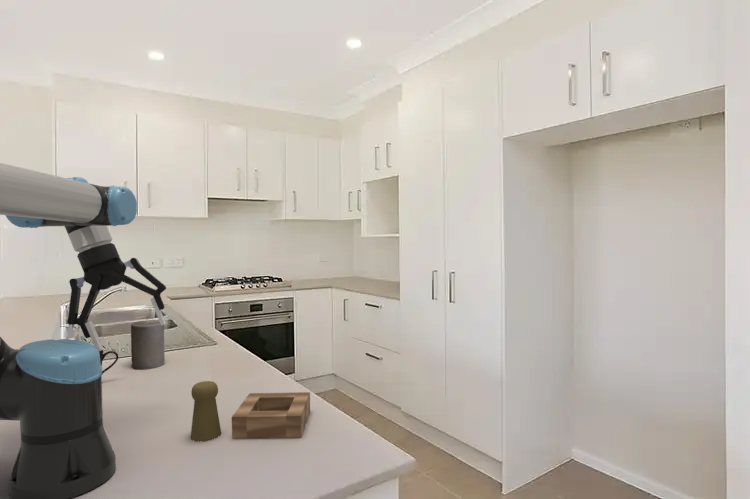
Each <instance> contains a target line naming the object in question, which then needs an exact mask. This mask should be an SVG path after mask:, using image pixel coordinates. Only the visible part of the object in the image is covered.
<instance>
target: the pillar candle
mask: <svg viewBox="0 0 750 499" xmlns="http://www.w3.org/2000/svg"><path fill="white" fill-rule="evenodd" d="M130 338H131V340H130V344H131V345H130V350H131V351H130V352H131V354H130V356H131V357H130V358H131V368H132V369H134V370H152V369H156V368H160V367H162V366H164V365H165V360H166V359H165V354H166V353H165V325H162V326H161V324H160V321H159V319H158V320H154V319H152V320H149V319H148V318H146V319H145V320H141V321H140V320H139V321H136V322H132V323H131V324H130Z"/></svg>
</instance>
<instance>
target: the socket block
mask: <svg viewBox="0 0 750 499" xmlns="http://www.w3.org/2000/svg"><path fill="white" fill-rule="evenodd" d="M310 413H311V392H309V391H308V392H307V391H306V392H303V391H302V392H249V393H248V394H247V396H246V397H245V399H244V400H243V401H242V403H241V404H240V405H239V407H238V408H237V409H236V410H235V412H234V413H233V414H232V416H231V438H232V440H238V439H239V440H240V439H245V440H246V439H294V438H295V439H296V438H297V439H298V438H299V439H300V438H302V436H303V433H304V431H305V427H306V424H307V422H308V418H309V416H310Z"/></svg>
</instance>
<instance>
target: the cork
mask: <svg viewBox="0 0 750 499" xmlns="http://www.w3.org/2000/svg"><path fill="white" fill-rule="evenodd" d="M190 392H191V393H190V394H191V397H192V400H194V401H193V402H194V403H193V410H192V411H193V412H192V421H191V429H190V439H191V440H192V441H193V440H194V442H198V441H199V443H200V441H202V442H209V441H208V440H210V441H212V439H213V440H215V439H217V438H219V437H220V436H221V435H222V428H221V423H220V417H219V411H218V404H217V396H218V393H219V387H218V384H217V383H216V382H214V381H211V380H205V381H199V382H197V383H195V384H194V385H193V386H192V388H191V391H190ZM218 436H219V437H218ZM214 438H215V439H214Z"/></svg>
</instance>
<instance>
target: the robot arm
mask: <svg viewBox="0 0 750 499" xmlns="http://www.w3.org/2000/svg"><path fill="white" fill-rule="evenodd" d="M137 212H138V202H137V198H136V196H135V193H134V192H133V191H132V190H131V189H130V188H129V187H126V186H117V185H116V186H115V185H111V186H103V185H97V184H93V183H89V182H88V180H87V179H85V178H84V177H81V176H74V177H62V176H59V175H58V176H57V175H53V174H51V173H49V174H48V173H45V172H41V171H38V170H33V169H29V168H24V167H19V166H14V165H10V164H6V163H3V162H0V215H1V216H5V217H6V219H7V220H8V221H9V223H11V224H12V225H13V226H15V227H18V228H22V229H23V228H25V229H26V228H27V229H28V228H29V229H30V228H31V229H38V228H45V227H64V228H65V230H66V233H67V235H68V238H69V240H70V241H69V242H70V244H72V248H73V251H75V252H77V256H76V258H77V259H78V261H79V262H78V263H79V264H80V267H81V268H82V272H83V276H81V277H77V278H71V279H69V281H68V282H69V285H70V289H71V291H70V299H69V307H68V315H67V324H68V325H69V326H72V325H74V326H75V325H78V326H79V327H80V328H81V332H82V333H83V336H84V337H85V339H89V338H90V339H91V342H92V343H91V342H89V341H84V340H79V339H71V338H70V339H68V338H61V339H44V340H43V339H42V340H37V341H32V342H27V343H25V344H24V345H22V346H21V347H20V348H18V349H16V348H12V347H11V346H10V345H8V343H7V342H6V341H5V340H4V339H3V338H2V337H1V336H0V421H19V423H20V424H19V425H20V426H19V428H20V447H19V449H18V453H17V456H16V459H15V462H14V465H13V467H12V471H11V474H10V476H9V477H10V478H9V481H8V489H9V494H8V495H9V497H10V499H72V498H74V497H77V496H80V495H83V494H85V493H87V492H89V491H92V490H94V489H95V488H97V487H100V486H101V485H102V484H104V483H105V482H107V481H108V480H109V479H110V478H111V477H112V476H113V475H114V474H115V472H116V469H117V461H116V460H117V458H116V453H115V451H114V450H113V447H112V445H111V442H110V439H109V437H108V435H107V433H106V431H105V428H104V419H103V417H104V416H103V411H104V410H103V390H102V388H103V386H102V385H103V381H102V378H103V377H102V376H103V374H102V371H103V367H102V366H103V365H102V366H101V362H100V353H99V350H101V349H102V348H103V349H104V347H103V343H102V342H101V338H100V337H99V335H98V333H97V330H96V328H95V325H94V323H93V321H92V320H90V321H88V319H89V317H90V315H91V312H92V311H93V310H92V309H93V308H94V305H95V302H96V300H97V297H98V295H99V294H100V291H105V290H108V289H110V288H111V287H116V286H119V285H121V284H122V283H125V284H127V285H129V286H132V287H134V288H136V289H137V290H140V291H142V292H144V293H146V294H148V295H149V296H150V295H151V296H152V298H150V302H151V304H152V306H153V310H154V312H155V313H156V316H157V319H158V320H159V321H160V324H161V326H162V325H164V326H165V325H166V324H167V322H166V320H165V318H164V314H163V313H162V310H164V309H165V304H164V302H163V298H162V296H161V294H162V293H163V292H165V290H166V289H167V286H166V285H165V284H164V283H162V282H161V281H160V280H159V279H158V278H156V277H155V276H154V275H153V274H152V273H150V272H149V271H148V270H147V269H146V268H144V266H142V265H141V263H140V261H139V259H138V258H136V257H131V258H130V259H129V260H127V261H125V262H123V260H122V259H121V257H120V254H119V251H118V250H117V248H116V244H114V243H113V242H112V241H113V237H112V236H111V233H110V230H109V228H108V226H113V227H117V226H123V225H129V224H130V223H132V222H133V221H134V220H135V218H136V215H137ZM128 267H129V268H130V269H131V270H135V271H137V273H138V274H140V275H141V276H142V277H144V278H145V279H146V280H147V281H148V282H150V283H151V285H154V286H155V287H156V289H155V288H152V287H150V286H148V285H146V284H144V283H142V282H140V281H138V280H136V279H134V278H132V277H130V276H129V275H126V274H125V273H126V270H127V268H128ZM85 283H86V284H89V285H91V287H90V289H89V292H88V295H87V297H86V300H85V302H84V305H83V308H82V309H81V312H80V314H79V309H80V301H81V294H82V288H83V287H84V284H85ZM78 316H79V317H78ZM101 374H102V376H101Z"/></svg>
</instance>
